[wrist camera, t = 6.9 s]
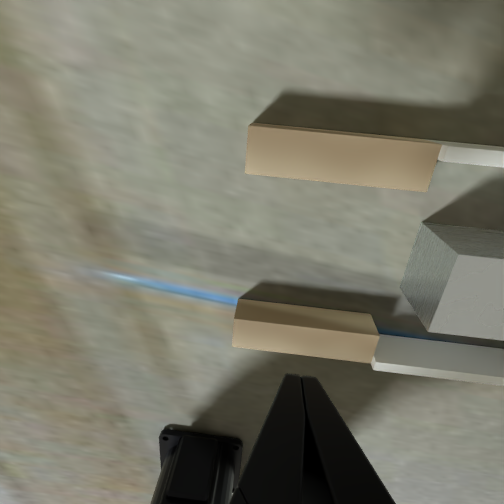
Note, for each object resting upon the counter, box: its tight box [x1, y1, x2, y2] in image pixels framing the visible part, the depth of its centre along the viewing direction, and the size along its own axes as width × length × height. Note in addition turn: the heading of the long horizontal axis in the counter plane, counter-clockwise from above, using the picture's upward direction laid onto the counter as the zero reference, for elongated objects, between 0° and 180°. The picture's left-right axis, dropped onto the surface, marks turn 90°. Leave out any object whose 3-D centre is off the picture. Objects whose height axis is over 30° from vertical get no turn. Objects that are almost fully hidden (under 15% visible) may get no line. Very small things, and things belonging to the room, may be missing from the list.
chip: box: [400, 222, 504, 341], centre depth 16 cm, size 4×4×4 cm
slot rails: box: [232, 123, 442, 363], centre depth 17 cm, size 12×8×2 cm, turn 175°
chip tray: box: [371, 139, 504, 386], centre depth 16 cm, size 12×10×2 cm
